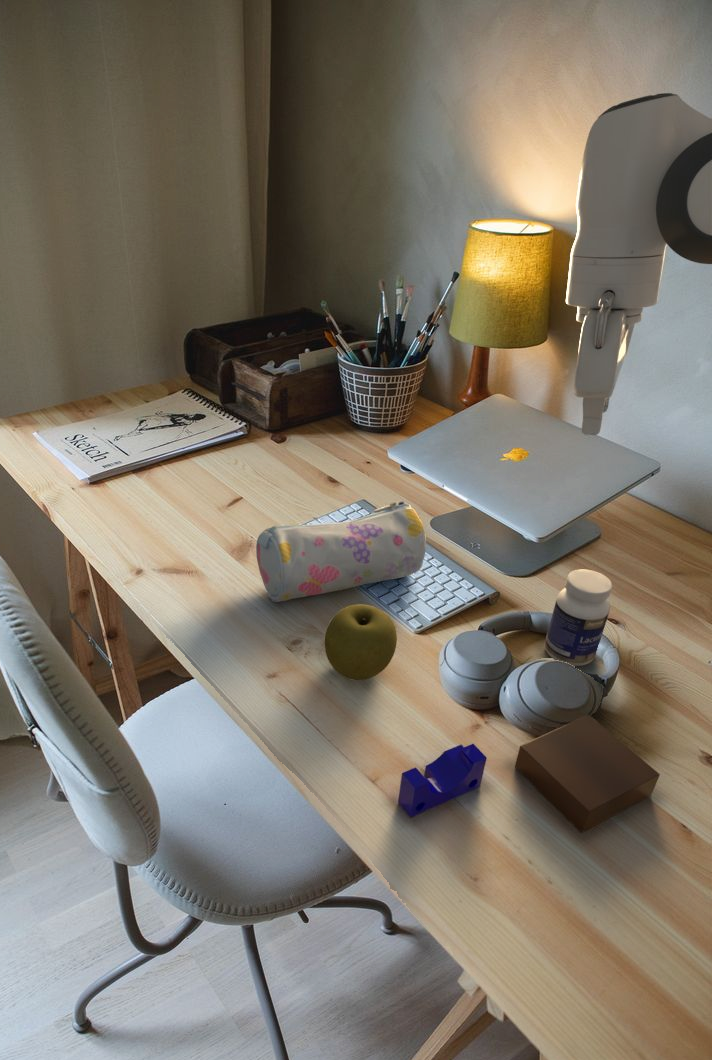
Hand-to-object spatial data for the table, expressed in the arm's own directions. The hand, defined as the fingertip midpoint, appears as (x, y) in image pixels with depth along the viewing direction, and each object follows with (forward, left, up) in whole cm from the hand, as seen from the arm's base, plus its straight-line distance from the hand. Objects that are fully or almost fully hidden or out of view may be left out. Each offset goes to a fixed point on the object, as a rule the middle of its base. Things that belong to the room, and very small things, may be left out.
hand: (595, 421), depth 90 cm
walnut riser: (+20, +25, -23) cm, 39 cm away
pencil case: (+23, -14, -23) cm, 35 cm away
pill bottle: (+7, +10, -23) cm, 26 cm away
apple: (+30, +1, -23) cm, 38 cm away
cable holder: (+33, +19, -23) cm, 44 cm away
